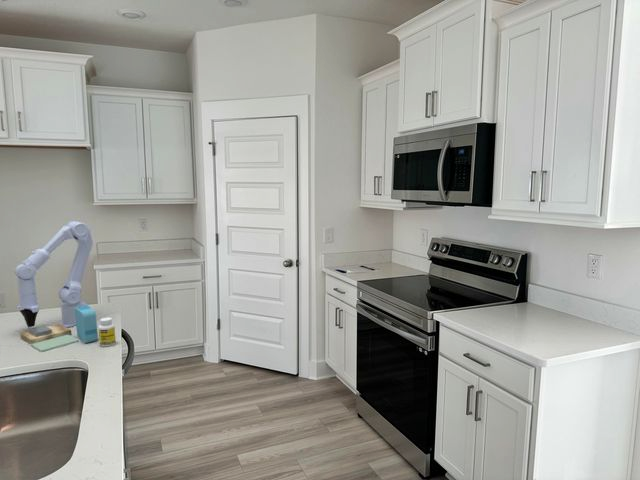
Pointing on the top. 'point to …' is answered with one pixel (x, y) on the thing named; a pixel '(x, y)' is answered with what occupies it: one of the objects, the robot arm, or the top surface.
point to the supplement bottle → (106, 332)
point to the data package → (86, 324)
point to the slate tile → (39, 331)
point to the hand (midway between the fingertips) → (31, 326)
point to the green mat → (54, 343)
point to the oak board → (56, 332)
